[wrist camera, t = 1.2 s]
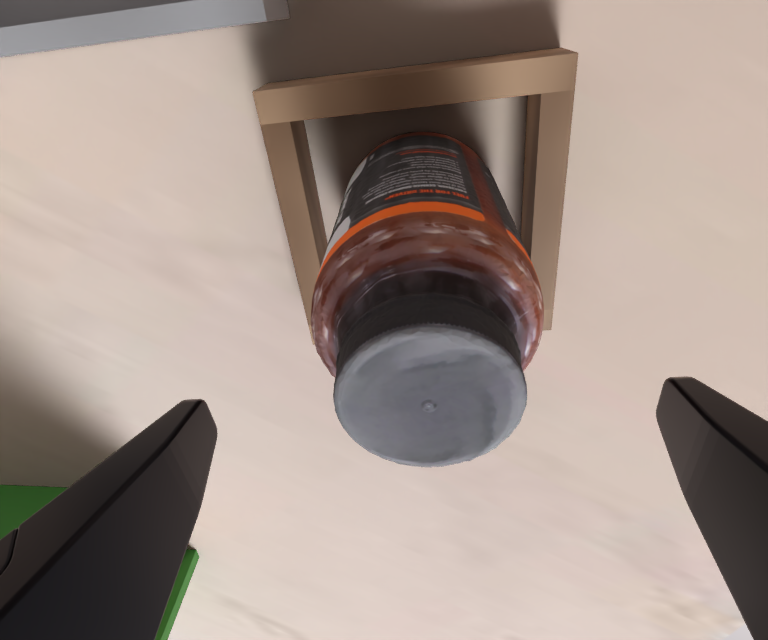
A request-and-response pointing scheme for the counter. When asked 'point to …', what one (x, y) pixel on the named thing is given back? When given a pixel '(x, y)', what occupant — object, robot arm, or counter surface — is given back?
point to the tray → (119, 20)
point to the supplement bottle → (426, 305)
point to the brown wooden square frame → (420, 89)
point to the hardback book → (17, 503)
